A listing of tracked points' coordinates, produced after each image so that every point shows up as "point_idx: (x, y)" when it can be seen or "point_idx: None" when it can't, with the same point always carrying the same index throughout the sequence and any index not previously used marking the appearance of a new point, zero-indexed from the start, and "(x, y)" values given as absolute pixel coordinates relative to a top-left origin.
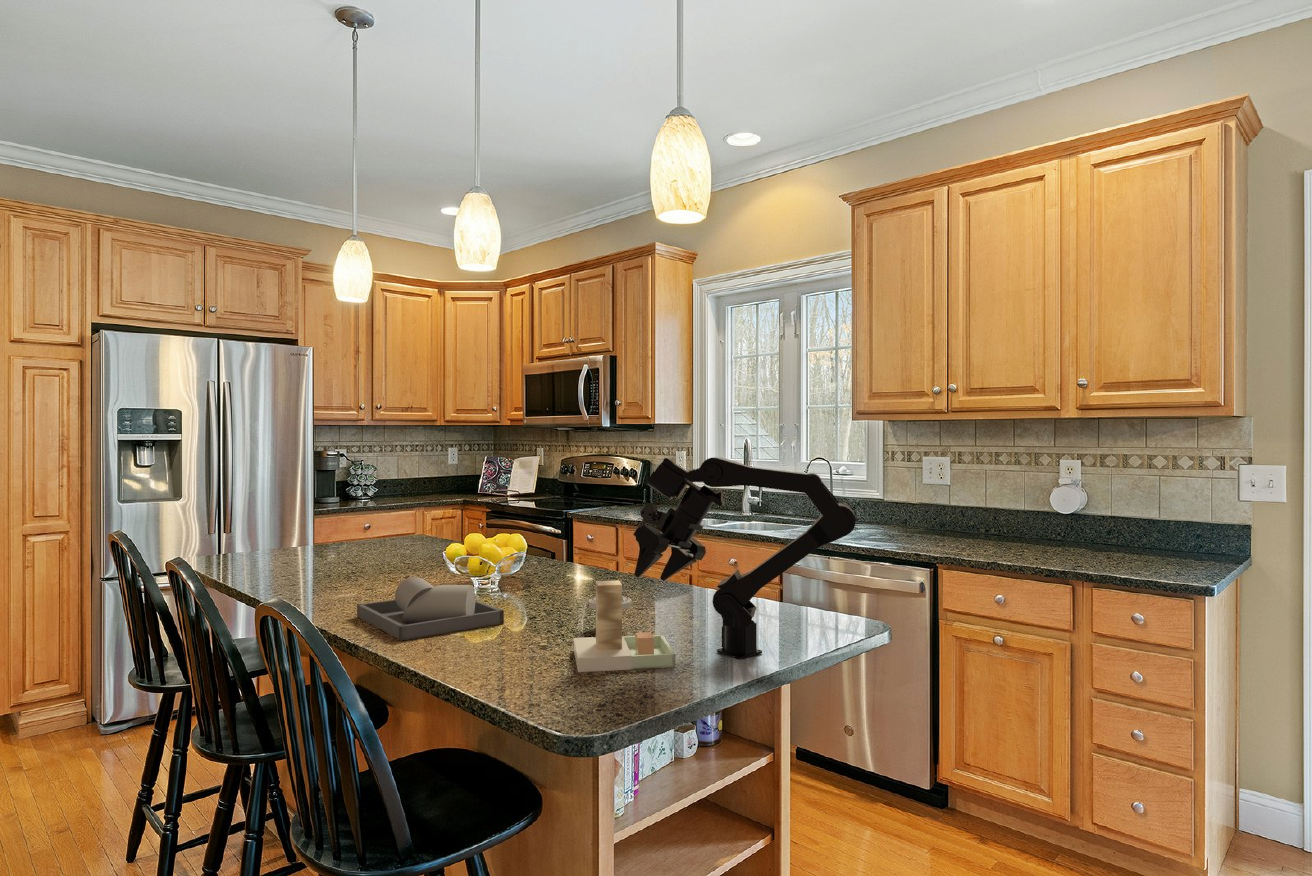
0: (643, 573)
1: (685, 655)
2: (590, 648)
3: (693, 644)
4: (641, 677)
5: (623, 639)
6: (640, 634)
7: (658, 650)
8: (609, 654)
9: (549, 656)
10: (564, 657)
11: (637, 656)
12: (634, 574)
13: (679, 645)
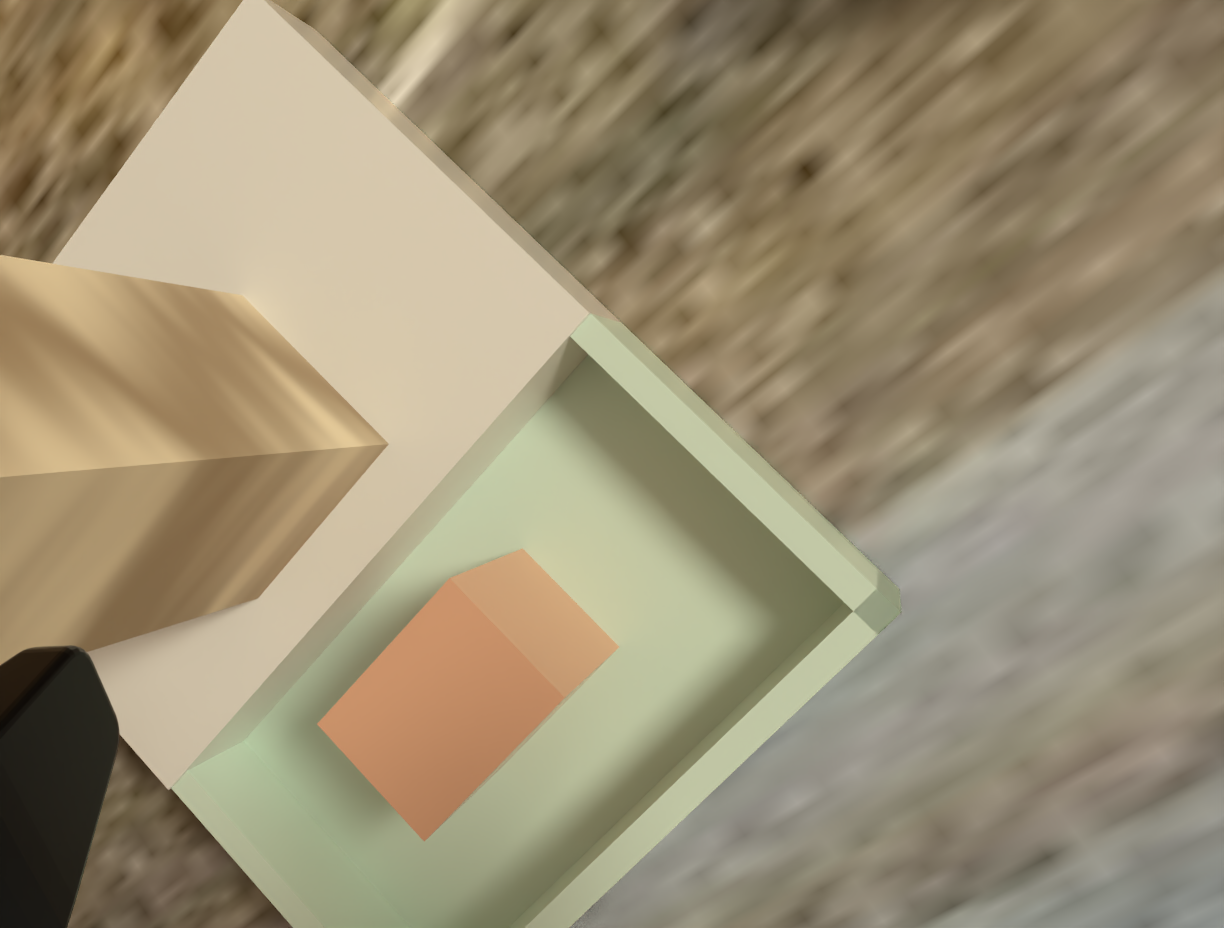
0: (57, 920)
1: (793, 915)
2: None
3: (1184, 799)
4: (156, 904)
5: (491, 406)
6: (433, 660)
7: (725, 660)
8: None
9: (108, 5)
10: (156, 119)
11: (202, 819)
12: (35, 652)
13: (1055, 697)
